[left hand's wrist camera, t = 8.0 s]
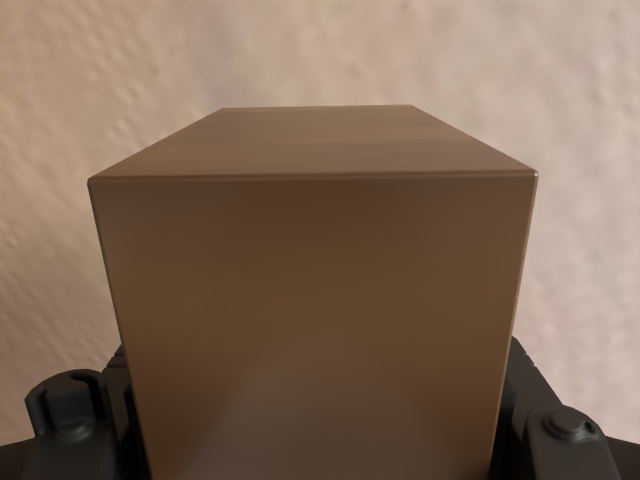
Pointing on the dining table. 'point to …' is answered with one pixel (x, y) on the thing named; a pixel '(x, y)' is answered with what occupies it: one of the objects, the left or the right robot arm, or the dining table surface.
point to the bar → (316, 293)
